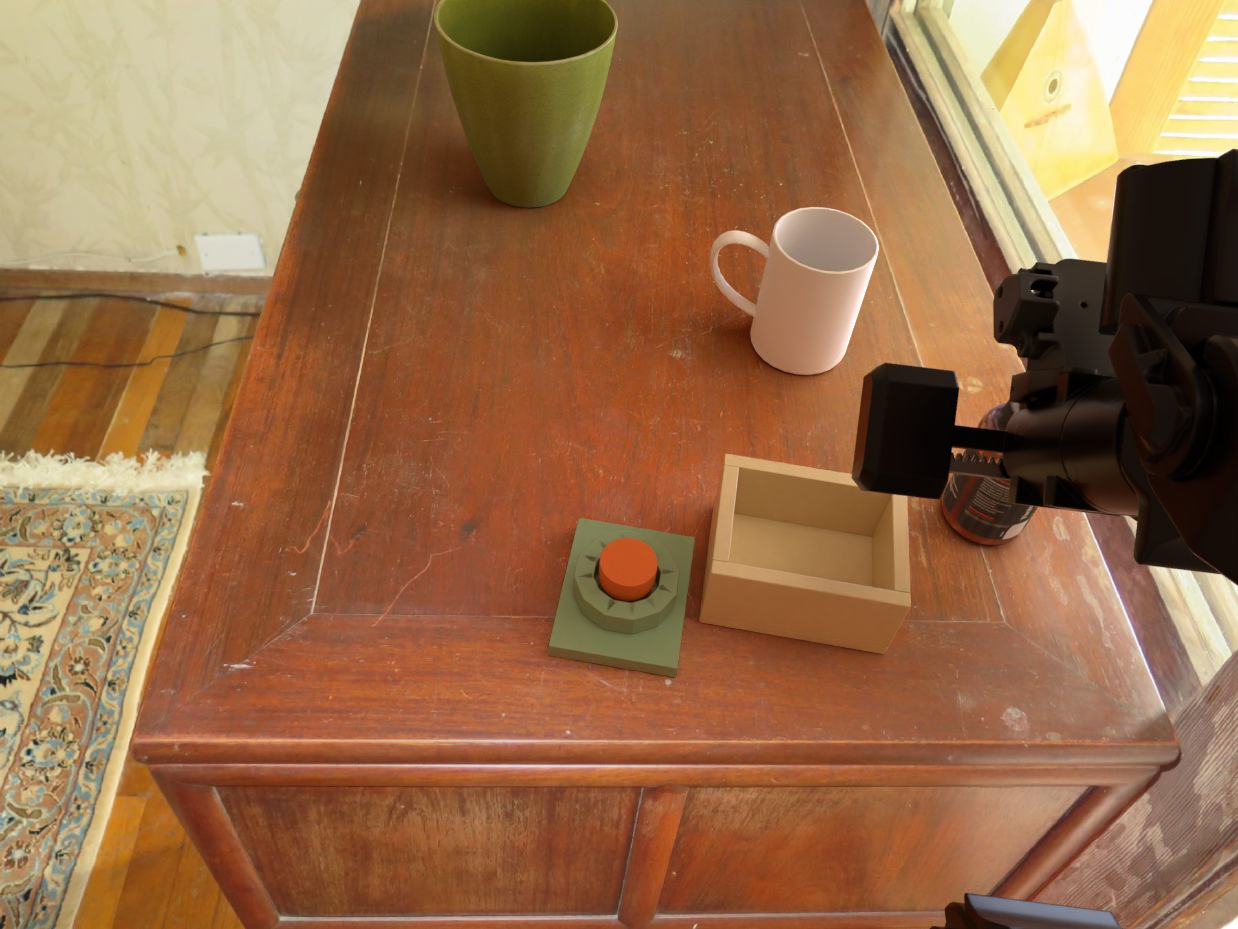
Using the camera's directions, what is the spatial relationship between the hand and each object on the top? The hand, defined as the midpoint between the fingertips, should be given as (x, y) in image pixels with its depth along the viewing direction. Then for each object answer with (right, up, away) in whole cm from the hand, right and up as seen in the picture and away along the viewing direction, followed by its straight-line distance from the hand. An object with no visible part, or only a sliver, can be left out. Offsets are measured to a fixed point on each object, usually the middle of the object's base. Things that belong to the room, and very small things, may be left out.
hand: (992, 453), depth 56 cm
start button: (-21, -8, +6) cm, 23 cm away
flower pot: (-30, +26, +37) cm, 54 cm away
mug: (-9, +10, +25) cm, 28 cm away
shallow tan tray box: (-9, -8, +10) cm, 16 cm away
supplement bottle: (+5, -4, +15) cm, 16 cm away
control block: (-21, -9, +8) cm, 24 cm away
